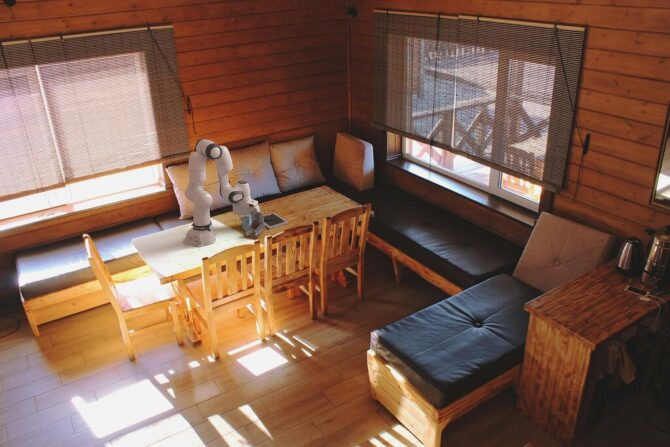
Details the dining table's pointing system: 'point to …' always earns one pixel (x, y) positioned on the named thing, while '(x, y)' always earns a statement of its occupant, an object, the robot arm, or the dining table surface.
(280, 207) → the dining table surface
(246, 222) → the book
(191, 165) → the robot arm
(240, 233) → the dining table surface
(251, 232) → the book rack
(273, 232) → the dining table surface
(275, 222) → the picture frame
